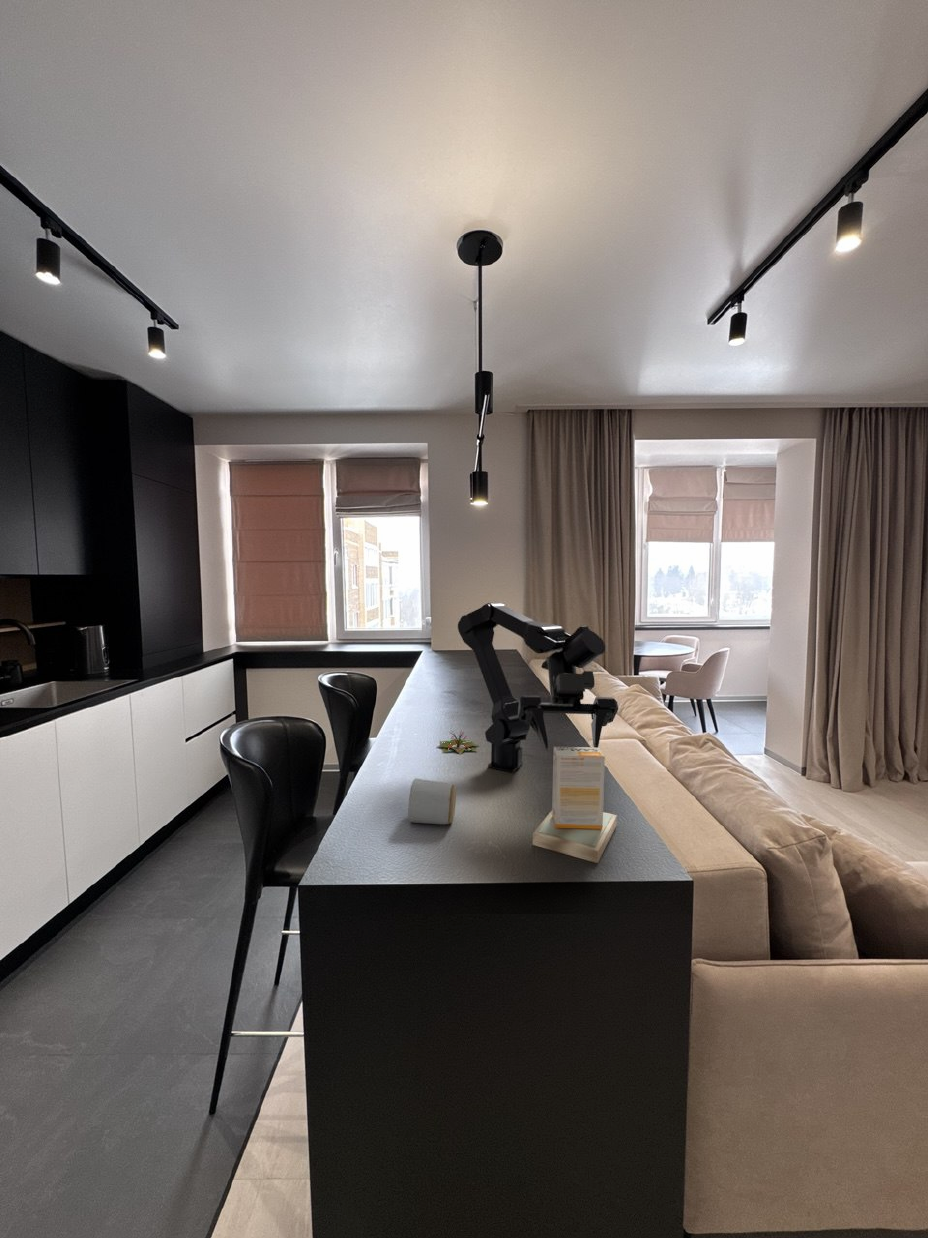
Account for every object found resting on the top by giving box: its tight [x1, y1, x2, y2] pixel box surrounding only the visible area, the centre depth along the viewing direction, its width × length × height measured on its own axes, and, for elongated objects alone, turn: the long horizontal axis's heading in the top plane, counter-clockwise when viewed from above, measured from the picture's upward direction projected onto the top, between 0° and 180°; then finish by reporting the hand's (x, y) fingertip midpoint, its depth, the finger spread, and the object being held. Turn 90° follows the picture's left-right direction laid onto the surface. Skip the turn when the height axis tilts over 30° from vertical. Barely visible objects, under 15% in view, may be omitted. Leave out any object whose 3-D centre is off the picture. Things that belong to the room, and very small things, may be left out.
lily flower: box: [437, 730, 479, 755], centre depth 135 cm, size 12×12×5 cm
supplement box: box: [551, 746, 606, 829], centre depth 90 cm, size 8×5×13 cm, turn 88°
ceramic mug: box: [407, 778, 457, 825], centre depth 96 cm, size 11×8×8 cm
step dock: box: [532, 810, 618, 864], centre depth 90 cm, size 11×14×2 cm
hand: (571, 749), depth 95 cm, fingers open, 9 cm apart
